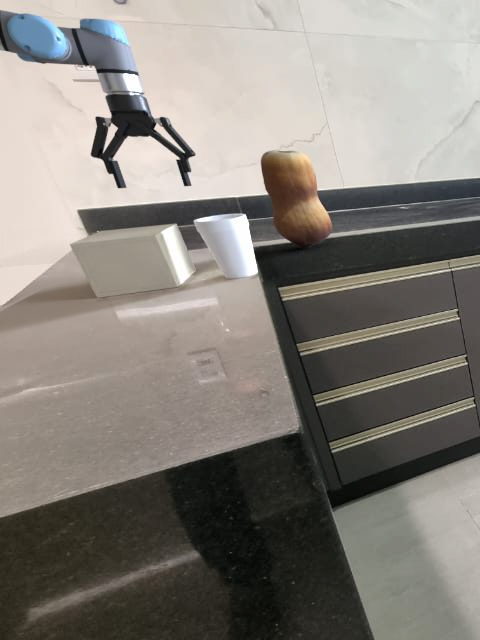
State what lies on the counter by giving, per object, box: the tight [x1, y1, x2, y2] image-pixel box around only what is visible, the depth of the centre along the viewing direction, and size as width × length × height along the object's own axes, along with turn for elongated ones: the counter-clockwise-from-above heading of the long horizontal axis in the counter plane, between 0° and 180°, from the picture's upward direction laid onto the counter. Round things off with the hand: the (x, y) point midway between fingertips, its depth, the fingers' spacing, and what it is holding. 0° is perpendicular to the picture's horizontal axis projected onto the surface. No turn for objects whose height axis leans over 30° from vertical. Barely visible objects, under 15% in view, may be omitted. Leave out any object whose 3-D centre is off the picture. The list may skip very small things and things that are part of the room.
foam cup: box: [193, 213, 258, 280], centre depth 119 cm, size 10×9×13 cm
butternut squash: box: [260, 149, 333, 250], centre depth 141 cm, size 14×13×25 cm
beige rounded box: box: [69, 223, 197, 299], centre depth 116 cm, size 15×14×11 cm
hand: (155, 187), depth 135 cm, fingers open, 13 cm apart
